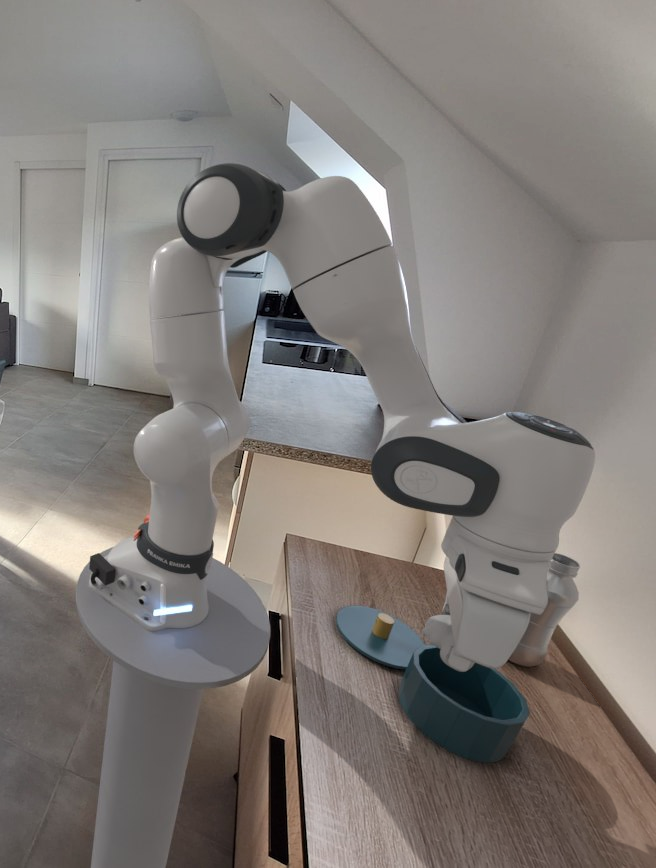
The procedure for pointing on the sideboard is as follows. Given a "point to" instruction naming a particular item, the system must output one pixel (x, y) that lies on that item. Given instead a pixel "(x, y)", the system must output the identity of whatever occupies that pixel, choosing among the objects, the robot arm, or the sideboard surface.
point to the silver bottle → (548, 612)
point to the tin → (462, 706)
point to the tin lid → (378, 635)
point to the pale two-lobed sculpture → (441, 636)
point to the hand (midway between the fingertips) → (452, 639)
